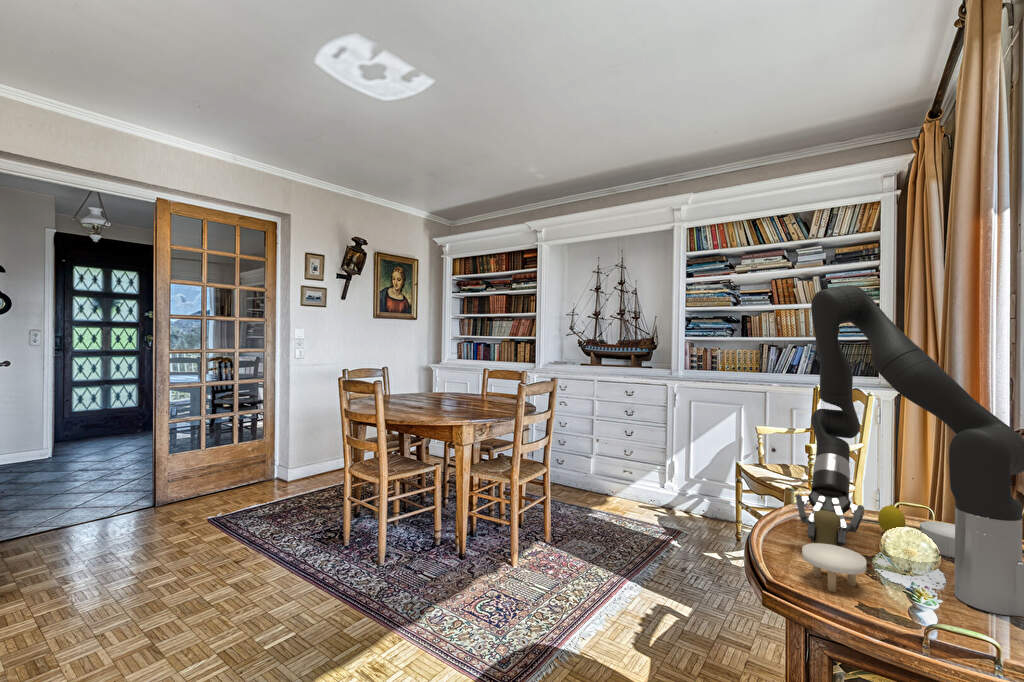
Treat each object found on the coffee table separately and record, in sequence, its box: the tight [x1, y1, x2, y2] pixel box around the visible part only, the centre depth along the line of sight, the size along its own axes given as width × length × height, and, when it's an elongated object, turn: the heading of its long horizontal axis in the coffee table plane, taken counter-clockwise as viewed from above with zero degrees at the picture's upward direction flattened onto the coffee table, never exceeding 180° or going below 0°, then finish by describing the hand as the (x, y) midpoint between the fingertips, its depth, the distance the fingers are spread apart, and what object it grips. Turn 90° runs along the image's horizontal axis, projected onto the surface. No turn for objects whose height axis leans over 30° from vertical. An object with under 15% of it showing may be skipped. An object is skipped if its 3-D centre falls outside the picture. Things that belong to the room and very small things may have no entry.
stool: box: [801, 542, 867, 593], centre depth 101 cm, size 11×11×6 cm
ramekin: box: [919, 520, 955, 559], centre depth 118 cm, size 11×11×5 cm
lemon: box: [877, 504, 907, 532], centre depth 126 cm, size 6×6×8 cm
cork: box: [813, 510, 841, 546], centre depth 112 cm, size 6×6×11 cm
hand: (826, 542), depth 111 cm, fingers closed on cork, 4 cm apart
